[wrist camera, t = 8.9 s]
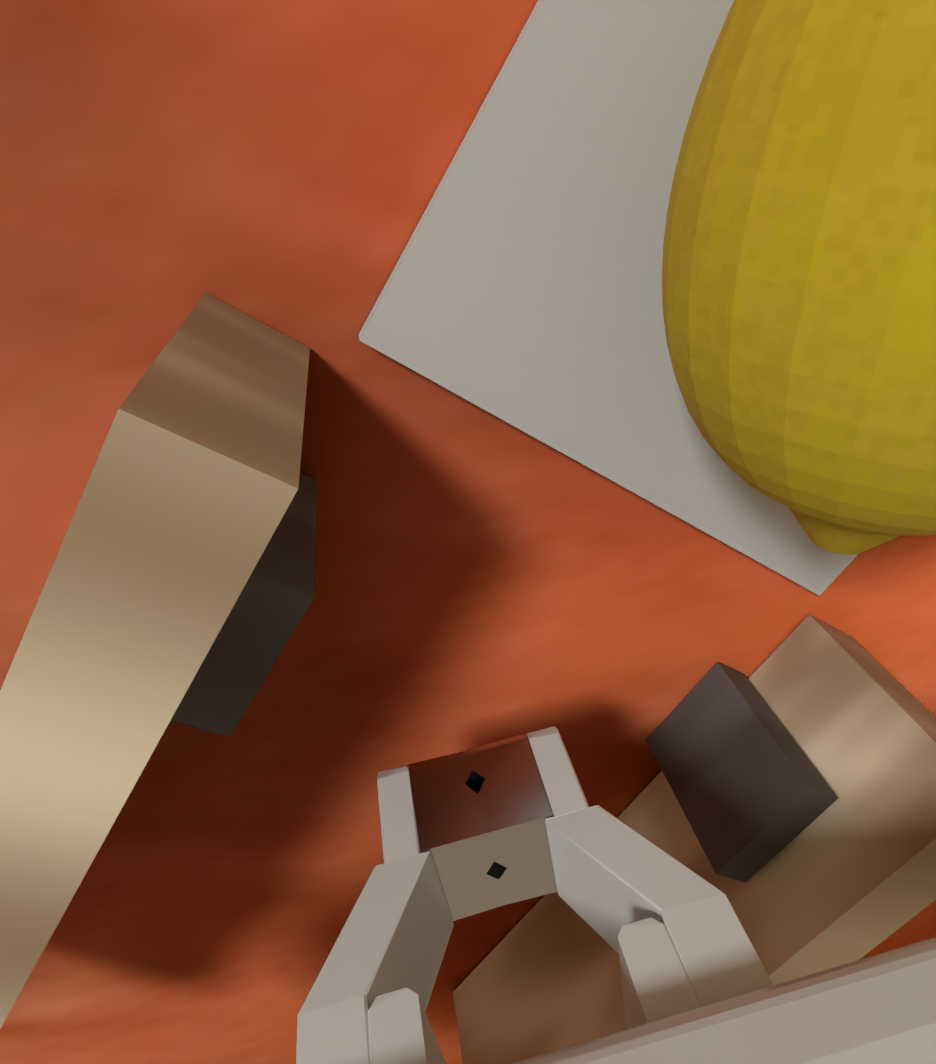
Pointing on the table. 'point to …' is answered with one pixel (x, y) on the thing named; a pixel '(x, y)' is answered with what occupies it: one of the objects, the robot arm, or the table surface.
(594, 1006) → the chute
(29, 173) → the table surface
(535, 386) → the grey ledged plate
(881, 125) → the lemon
